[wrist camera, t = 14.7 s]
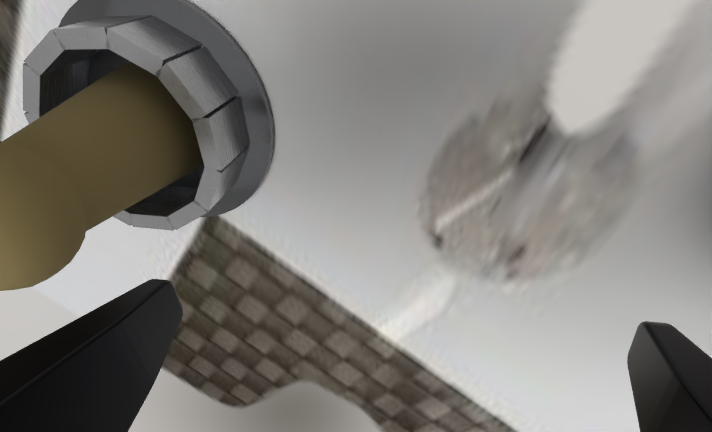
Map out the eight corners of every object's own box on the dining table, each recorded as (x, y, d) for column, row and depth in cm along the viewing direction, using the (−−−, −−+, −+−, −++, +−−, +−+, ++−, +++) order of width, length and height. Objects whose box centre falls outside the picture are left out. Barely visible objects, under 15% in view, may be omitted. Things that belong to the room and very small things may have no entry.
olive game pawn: (99, 135, 24) (-128, 258, 15) (116, 33, 20) (-168, 116, 12) (197, 192, 25) (34, 344, 16) (230, 103, 21) (44, 233, 12)
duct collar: (249, -22, 18) (205, -13, 15) (289, 220, 25) (264, 258, 22) (19, -10, 21) (-54, 0, 18) (109, 205, 27) (66, 237, 25)
